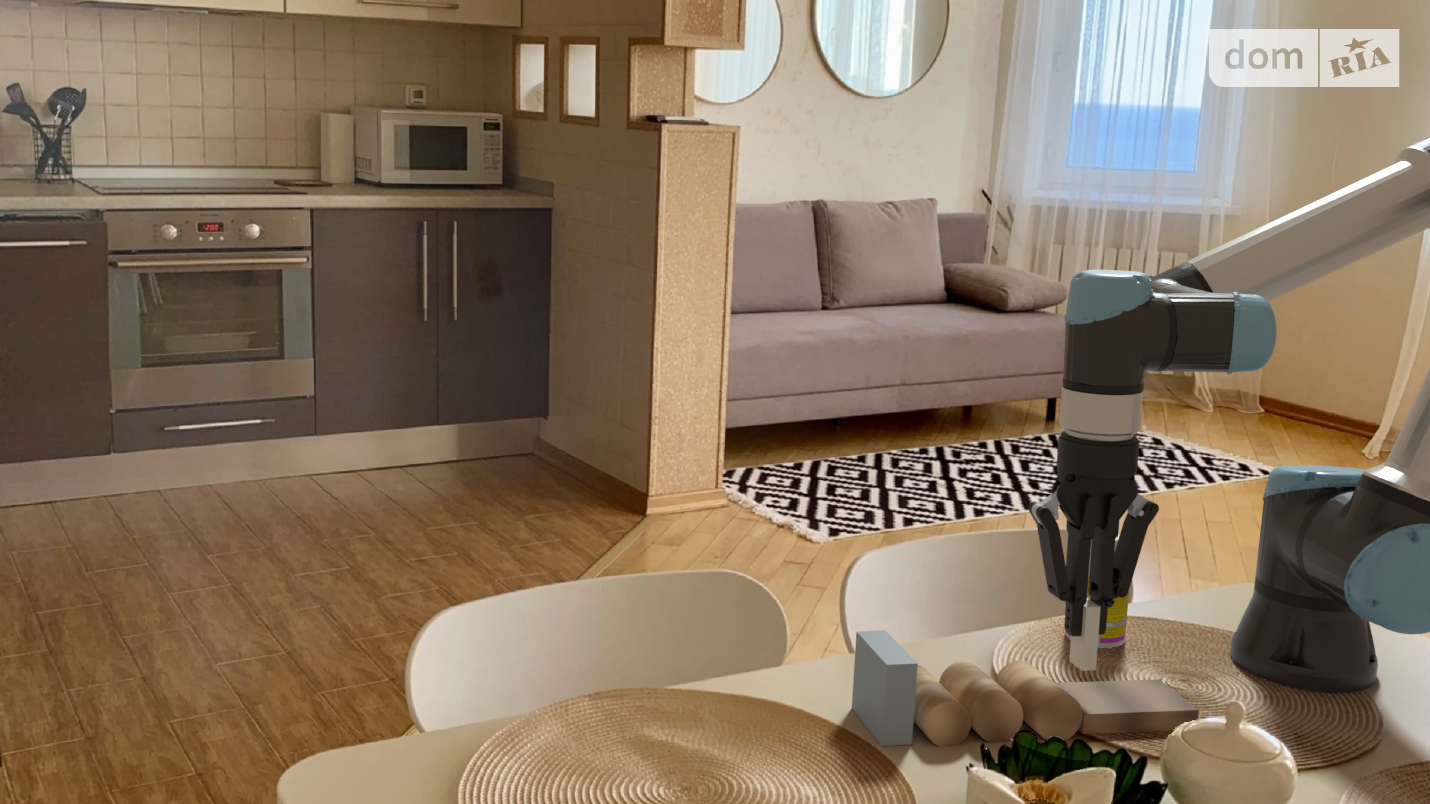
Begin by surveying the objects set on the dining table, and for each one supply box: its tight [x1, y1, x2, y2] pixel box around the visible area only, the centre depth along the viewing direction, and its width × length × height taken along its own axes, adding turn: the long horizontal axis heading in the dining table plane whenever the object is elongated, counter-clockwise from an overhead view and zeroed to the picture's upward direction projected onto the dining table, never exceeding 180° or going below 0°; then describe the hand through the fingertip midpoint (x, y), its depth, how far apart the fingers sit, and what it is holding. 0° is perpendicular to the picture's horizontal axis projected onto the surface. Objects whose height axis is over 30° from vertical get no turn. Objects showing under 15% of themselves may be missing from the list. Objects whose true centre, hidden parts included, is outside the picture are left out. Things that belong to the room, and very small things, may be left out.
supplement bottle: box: [1064, 532, 1130, 649], centre depth 160 cm, size 7×7×13 cm
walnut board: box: [1055, 678, 1200, 735], centre depth 141 cm, size 12×8×2 cm, turn 100°
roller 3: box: [994, 659, 1083, 741], centre depth 138 cm, size 9×5×5 cm, turn 15°
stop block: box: [851, 629, 919, 747], centre depth 135 cm, size 3×9×8 cm, turn 12°
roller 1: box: [913, 664, 972, 748], centre depth 136 cm, size 10×4×4 cm
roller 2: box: [938, 660, 1024, 744], centre depth 137 cm, size 9×5×5 cm
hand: (1082, 665), depth 139 cm, fingers closed
